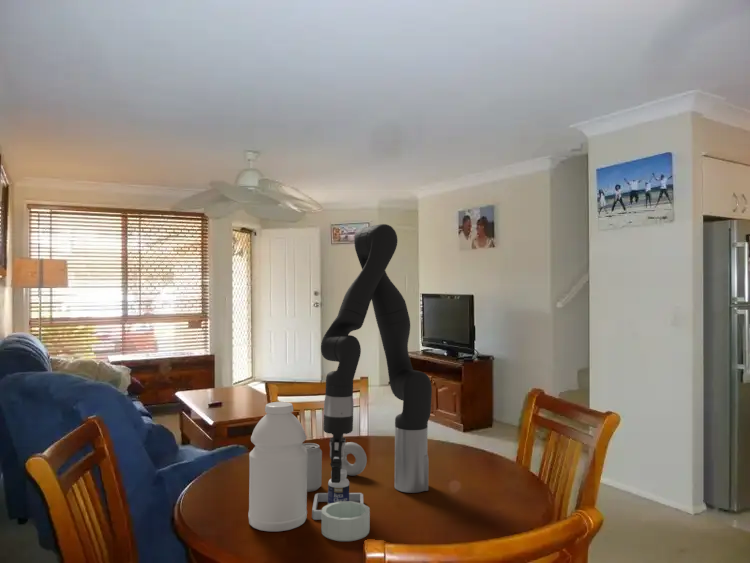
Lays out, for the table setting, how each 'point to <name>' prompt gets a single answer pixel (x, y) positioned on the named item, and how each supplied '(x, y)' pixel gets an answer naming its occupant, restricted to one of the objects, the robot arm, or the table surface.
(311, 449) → the can
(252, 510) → the bottle
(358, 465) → the donut
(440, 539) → the table surface
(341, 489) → the pill bottle
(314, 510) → the tray
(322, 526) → the bowl
